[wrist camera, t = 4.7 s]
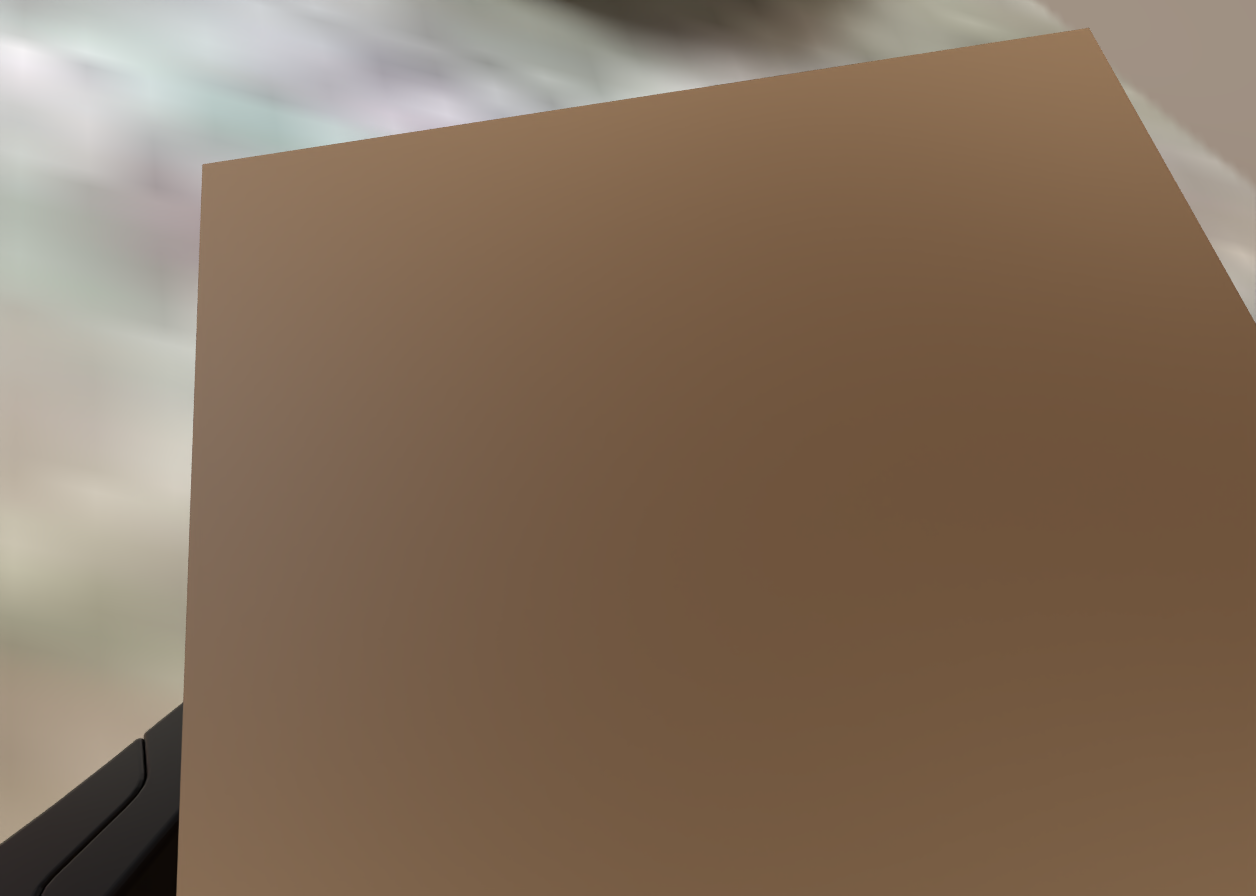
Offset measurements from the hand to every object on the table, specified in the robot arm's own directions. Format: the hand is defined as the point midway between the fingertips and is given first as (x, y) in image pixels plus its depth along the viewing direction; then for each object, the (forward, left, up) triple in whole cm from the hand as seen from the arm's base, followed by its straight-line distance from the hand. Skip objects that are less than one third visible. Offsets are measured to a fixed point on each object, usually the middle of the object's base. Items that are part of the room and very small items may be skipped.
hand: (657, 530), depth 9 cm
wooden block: (-1, +1, -7) cm, 7 cm away
